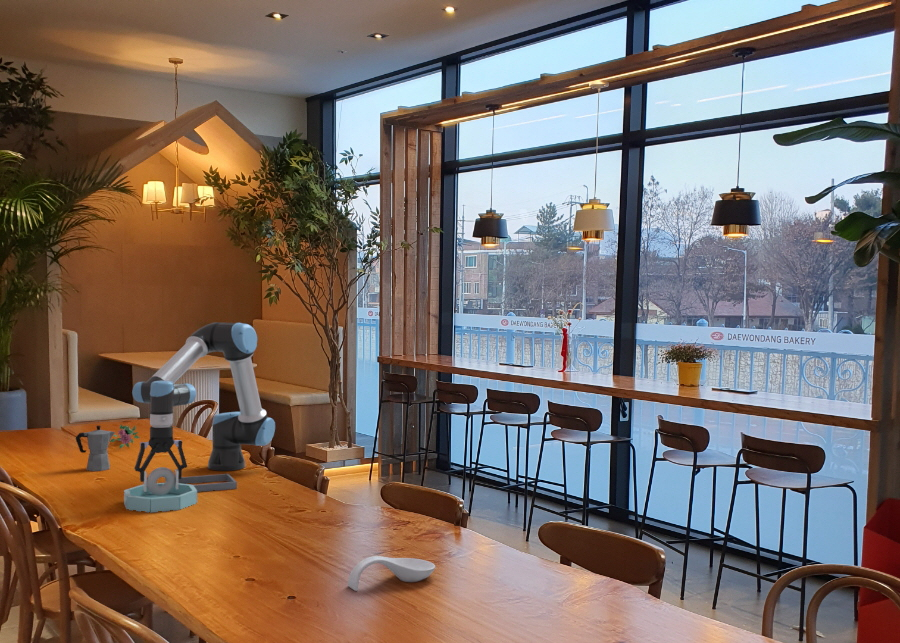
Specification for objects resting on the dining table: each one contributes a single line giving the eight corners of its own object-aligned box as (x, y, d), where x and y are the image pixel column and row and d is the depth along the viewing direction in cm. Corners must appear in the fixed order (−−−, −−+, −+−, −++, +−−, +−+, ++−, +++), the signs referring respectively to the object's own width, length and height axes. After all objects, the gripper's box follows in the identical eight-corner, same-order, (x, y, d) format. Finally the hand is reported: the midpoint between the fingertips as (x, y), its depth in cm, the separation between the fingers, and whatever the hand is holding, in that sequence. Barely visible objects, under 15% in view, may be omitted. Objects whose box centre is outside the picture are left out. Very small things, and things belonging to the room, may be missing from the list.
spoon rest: (420, 568, 226) (420, 542, 225) (443, 581, 216) (444, 554, 216) (341, 583, 213) (341, 555, 212) (362, 598, 203) (362, 568, 203)
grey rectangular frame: (228, 480, 326) (228, 473, 326) (236, 488, 312) (236, 482, 312) (170, 484, 316) (170, 478, 316) (176, 493, 302) (177, 486, 302)
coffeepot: (111, 465, 349) (111, 422, 348) (118, 469, 342) (118, 425, 341) (72, 469, 339) (72, 425, 339) (78, 473, 332) (79, 428, 331)
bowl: (189, 493, 304) (189, 480, 303) (200, 507, 283) (200, 494, 283) (122, 498, 293) (122, 486, 293) (128, 514, 273) (128, 501, 273)
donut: (148, 498, 284) (148, 469, 283) (144, 496, 286) (144, 468, 286) (176, 494, 290) (177, 466, 290) (173, 492, 293) (173, 464, 292)
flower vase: (132, 455, 410) (136, 451, 378) (106, 448, 406) (108, 444, 374) (139, 431, 413) (144, 426, 382) (114, 425, 409) (117, 419, 378)
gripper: (128, 429, 279) (127, 494, 280) (196, 425, 289) (196, 489, 290) (125, 425, 286) (125, 490, 286) (193, 422, 296) (192, 484, 296)
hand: (160, 489), depth 288 cm, fingers closed on donut, 10 cm apart
